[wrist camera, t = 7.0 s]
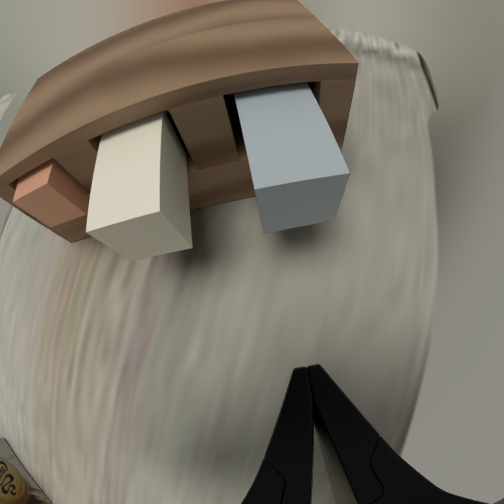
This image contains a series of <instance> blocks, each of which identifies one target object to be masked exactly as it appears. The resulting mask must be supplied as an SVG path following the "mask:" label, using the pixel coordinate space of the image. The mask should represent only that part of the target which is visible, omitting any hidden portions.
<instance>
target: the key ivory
mask: <svg viewBox="0 0 504 504" xmlns="http://www.w3.org/2000/svg"><path fill="white" fill-rule="evenodd" d="M86 233H88V234H89V235H91V236H92V237H94V238H95V239H97V240H98V241H100V242H101V243H103V244H104V245H106V246H107V247H109V248H111V249H112V250H114V251H115V252H117V253H118V254H120V255H122V256H123V257H125V258H126V259H128V260H130V261H135V260H140V259H144V258H149V257H154V256H158V255H163V254H167V253H172V252H177V251H182V250H186V249H191V248H193V246H192V235H191V223H190V210H189V195H188V178H187V157H186V153H185V151H184V149H183V147H182V145H181V143H180V141H179V139H178V137H177V135H176V133H175V131H174V129H173V127H172V125H171V123H170V121H169V119H168V116H167V114H166V112H165V111H163V112H160V113H157V114H154V115H151V116H148V117H145V118H142V119H139V120H136V121H134V122H131V123H128V124H126V125H123V126H120V127H118V128H115V129H113V130H111V131H108V132H106V133H103V134H102V136H101V140H100V144H99V149H98V154H97V158H96V163H95V169H94V174H93V180H92V186H91V193H90V200H89V207H88V216H87V225H86Z"/></svg>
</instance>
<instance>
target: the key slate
mask: <svg viewBox="0 0 504 504" xmlns="http://www.w3.org/2000/svg"><path fill="white" fill-rule="evenodd" d="M234 96H235V100H236V105H237V109H238V114H239V119H240V123H241V128H242V132H243V137H244V142H245V146H246V151H247V156H248V161H249V165H250V170H251V175H252V180H253V185H254V189H255V194H256V199H257V204H258V209H259V214H260V219H261V224H262V229H263V234H265V233H270V232H275V231H280V230H285V229H290V228H296V227H301V226H306V225H311V224H317V223H322V222H327V221H333V220H334V219H335V216H336V214H337V211H338V208H339V205H340V202H341V199H342V196H343V193H344V190H345V187H346V184H347V181H348V178H349V175H350V172H349V170H348V167H347V165H346V162H345V160H344V158H343V155H342V153H341V151H340V149H339V146H338V144H337V142H336V140H335V138H334V135H333V133H332V131H331V129H330V127H329V125H328V123H327V121H326V119H325V117H324V115H323V113H322V111H321V109H320V107H319V105H318V103H317V101H316V99H315V97H314V95H313V93H312V91H311V89H310V88H309V86H308V84H307V82H302V83H293V84H284V85H277V86H270V87H264V88H258V89H252V90H246V91H241V92H236V93H234Z"/></svg>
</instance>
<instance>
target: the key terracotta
mask: <svg viewBox="0 0 504 504" xmlns="http://www.w3.org/2000/svg"><path fill="white" fill-rule="evenodd" d="M89 193H90V192H89V191H88V190H87V189H86V188H85V187H84V186H83V185H81V184H80V183H79V182H78V181H77V180H76V179H75V178H74V177H73V176H72V175H71V174H70V173H68V172H67V171H66V170H65V169H64V168H63V167H62V166H61V165H60V164H59V163H58V162H57V161H56V160H55V159H54V158H52V159H50V160H48V161H46V162H44V163H42V164H41V165H39V166H37V167H35V168H34V169H32V170H30V171H29V172H27V173H25V174H24V175H22V176H21V177H20V178H19V181H18V184H17V188H16V191H15V195H14V198H13V203H14V204H16V205H17V206H19V207H20V208H22V209H23V210H25V211H26V212H28V213H29V214H31V215H32V216H34V217H35V218H37V219H38V220H40V221H41V222H43V223H44V224H46V225H47V226H49V227H54V226H57V225H59V224H62V223H65V222H67V221H70V220H73V219H76V218H78V217H81V216H84V215H87V207H88V199H89Z"/></svg>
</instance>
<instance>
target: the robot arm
mask: <svg viewBox="0 0 504 504" xmlns="http://www.w3.org/2000/svg"><path fill="white" fill-rule="evenodd" d="M314 427H315V431H316V434H317V438H318V441H319V444H320V448H321V451H322V455H323V458H324V462H325V465H326V469H327V472H328V476H329V479H330V483H331V486H332V490H333V493H334V497H335V501H336V504H488V503H484V502H479V501H474V500H471V499H467V498H464V497H460V496H457V495H453V494H450V493H448V492H445V491H443V490H442V489H440V488H438V487H436V486H435V485H434V484H432V483H431V482H430V481H429V480H427V479H426V478H425V477H424V476H422V475H421V474H420V473H419V472H417V471H416V470H415V469H414V468H413V467H411V466H410V465H409V464H408V463H407V462H405V461H404V460H403V459H402V458H401V457H400V456H399V455H398V454H397V453H396V452H395V451H394V450H393V449H392V448H391V447H390V446H389V445H388V444H387V443H386V441H385V440H384V439H383V438H382V437H379V436H380V435H379V434H378V432H377V431H376V430H375V429H374V428H373V427H372V425H371V424H370V423H369V422H368V421H367V420H366V418H365V417H364V416H363V415H362V414H361V413H360V411H359V410H358V409H357V408H356V407H355V406H354V404H353V403H352V402H351V401H350V400H349V399H348V397H347V396H346V395H345V394H344V393H343V391H342V390H341V389H340V388H339V387H338V386H337V384H336V383H335V382H334V381H333V380H332V378H331V377H330V376H329V375H328V374H327V372H326V371H325V370H324V369H323V368H322V366H321V365H319V364H315V365H310V366H308V367H307V368H306V367H298V368H294V369H293V372H292V375H291V379H290V382H289V385H288V388H287V392H286V395H285V398H284V401H283V404H282V407H281V410H280V413H279V416H278V419H277V422H276V425H275V428H274V431H273V434H272V437H271V439H270V442H269V445H268V448H267V450H266V453H265V456H264V458H265V459H263V461H262V463H261V466H260V469H259V471H258V473H257V475H256V478H255V480H254V482H253V484H252V486H251V488H250V490H249V491H248V493H247V495H246V497H245V498H244V500H243V502H242V503H241V504H311V503H312V484H313V453H314ZM494 504H504V498H503V499H501V500H500V501H498V502H496V503H494Z"/></svg>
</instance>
